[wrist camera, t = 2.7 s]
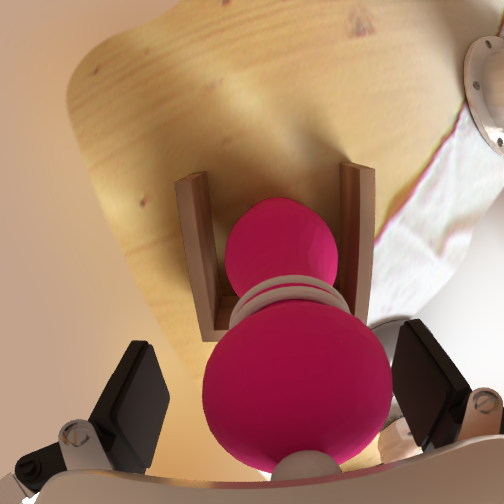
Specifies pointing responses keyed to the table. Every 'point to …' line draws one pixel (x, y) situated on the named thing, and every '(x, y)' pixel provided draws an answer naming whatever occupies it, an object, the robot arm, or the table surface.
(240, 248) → the pepper mill
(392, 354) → the coaster
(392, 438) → the beige plush toy
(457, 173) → the table surface
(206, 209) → the cradle
